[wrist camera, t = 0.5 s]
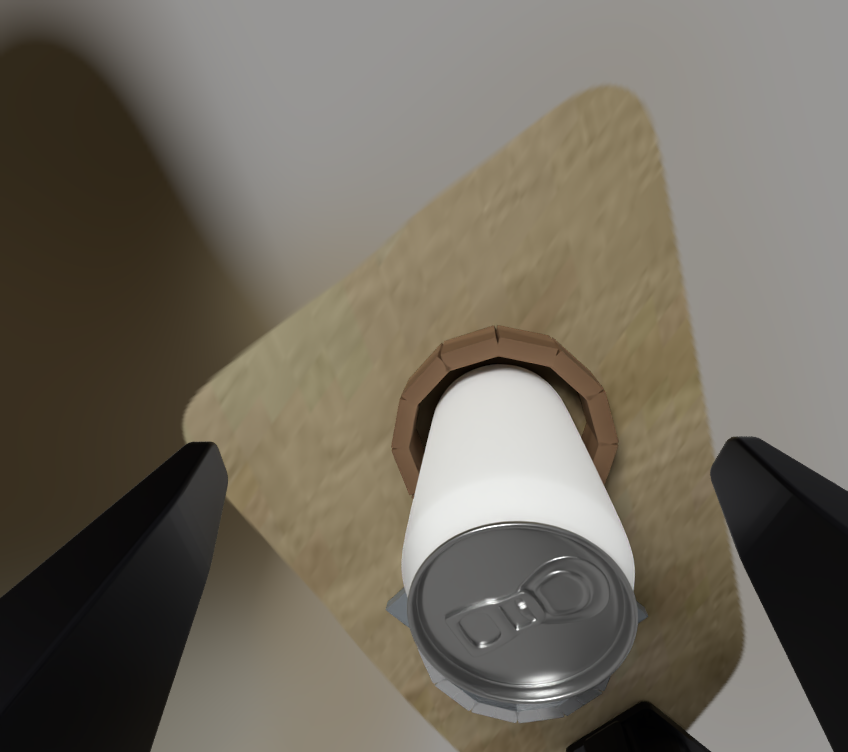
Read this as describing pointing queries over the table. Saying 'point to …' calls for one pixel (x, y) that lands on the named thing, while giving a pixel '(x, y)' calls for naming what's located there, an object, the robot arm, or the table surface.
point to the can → (515, 546)
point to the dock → (497, 708)
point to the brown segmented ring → (514, 346)
